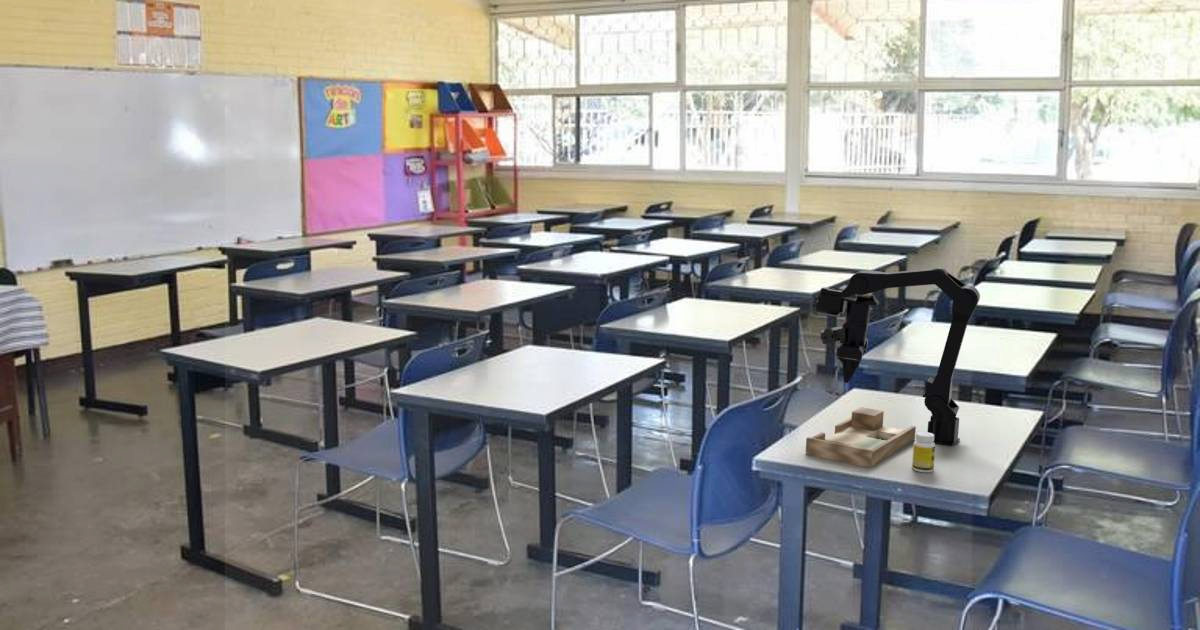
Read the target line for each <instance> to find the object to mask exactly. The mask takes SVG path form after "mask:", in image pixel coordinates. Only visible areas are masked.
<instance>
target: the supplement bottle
mask: <svg viewBox="0 0 1200 630" xmlns="http://www.w3.org/2000/svg"><path fill="white" fill-rule="evenodd" d="M933 441H934V434H932V433H929V432H927V431H918V432H917V431H916V432H915V440H914V441H913V449H912V463H911V468H912V470H914V472H915V471H916V472H920V473H932V472H933V471H934V470H935V469H934V468H935V453H936V443H934V442H933Z"/></svg>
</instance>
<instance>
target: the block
mask: <svg viewBox="0 0 1200 630" xmlns="http://www.w3.org/2000/svg"><path fill="white" fill-rule="evenodd" d="M884 412H885V411H884V410H880V409H879V410H878V409H874V408H868V407H859V408H857V409H855V410H853V411H851V417H852V420H851V427H854V428H859V429H864V430H870V431H875V430H877V429H879V428H880V427H882V426H884Z"/></svg>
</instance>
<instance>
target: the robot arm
mask: <svg viewBox="0 0 1200 630" xmlns="http://www.w3.org/2000/svg"><path fill="white" fill-rule="evenodd" d="M848 282H849V283H848V285H847V286H846V287H845V288H843V289H842V290H838V289H831V288H829V287H821V288H820V293H819V296H818V298H817V301H816V307H815V311H816V312H815V313H816V314H820V315H826V316H832V317H838V318H839V317H840V315H841V314H842V315H843V314H845V319H844V322H843V323H842V326H836V327H835V326H834V327H828V328H824V329H822V330H821V331H820V332H819V334H820V339H821V343H822V345H828V344H829V343H833V342H834V343H835V342H839V344H840V345H839V346H838V347H836V348H837V349H836V353H835V354H836V357H837V358H836V359H837V360H839V361H840V362H841V364H842V373H843V374H842V375H843V383H845V384H849V383H850V380H851V379H852V378H853V376H854V374H855V372H856V371H857V369H858V367H859V366H860V364H861V362H862V360H863V357H864V355H865V354H866V351H867V349H868V345H869V344H868V343H869V339H868V337H867V332H868V328H869V320H870V313H871V306H875V307H877V306H878V305H879V304H880V301H879V300H878V298H876V296H875V294H872V293H876V292H879V291H882V290H887V289H893V288H894V289H895V288H906V287H916V286H917V287H918V286H928V285H929V286H931V285H932V286H933V285H935V286H936V287H938V288H939V289H940V291H942V292H943V293H944V295H946V296H947V297H948V298H949V299H950V300H952V304H951V305H952V308H951V323H950V326H949V329H948V333H947V338H946V341H945V344H944V347H943V351H942V355H941V359H940V363H939V366H938V369H937V374H936V375H935V377H934V378H933V377H931V376H929V378H928V380H927V381H926V387H925V391H924V393H923V394H922V398H924V402H923V403H924V406H925V407H926V409H927V410H928V411H930V414H931V416H930V417H929V418H930V419H929V421H927V431H926V432H929V433H932V434H934V441H933V442H934V443H935V444H941V445H946V446H951V447H952V446H954V445H955V444H957V443H958V442H959V441H960V440H961V438H959V428H960V417H957V415H958V412H959V410H960V406H959V405H958V404H957V402H955V401H954V400H953V398H952V393H953V391H952V390H953V376H954V372H955V369H956V365H957V361H958V358H959V356H960V352H961V348H962V345H963V341H964V336H965V333H966V329H967V326H968V324H969V322H970V320H971V318H972V316H973V314H974V312H975V310H976V308H977V306H978V305H979V302H980V301H981V300H980V299H981V294H980V292H979V290H978V289H977V288H976V287H975V286H973V285H969V284H965V283H964V282H963V281H962V280H960V279H958V278H957V277H955V276H954V275H953V274H951V273H950V272H948V271H947V269H945V268H943V267H940V266H938V267H935V268H929V269H928V268H927V269H915V270H914V269H913V270H905V271H894V272H893V271H892V272H886V271H877V270H867V269H865V270H863V269H862V270H860V271H857V272H856V273H853V275H852V276H851V277H850V279H849V281H848ZM869 294H872V295H871V296H864V295H869ZM854 295H857V297H856V298H853V297H852V296H854ZM845 311H846V312H845Z"/></svg>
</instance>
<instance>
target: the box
mask: <svg viewBox="0 0 1200 630" xmlns="http://www.w3.org/2000/svg"><path fill="white" fill-rule="evenodd" d="M851 420H852V416H851V417H850V418H848V419H845V420H844V421H841V422H840V423H838V424H836V425H835V426H834V434H832V435H830V436H828V437H826V432H820V433H818V434H816V435H814V436H812V437H811V436H807V437H806V438H805V441H806V442H805V455H808V456H813V457H817V458H821V457H822V458H823V459H826V458H827V460H831V461H837V462H840V463H841V462H842V463H846V464H850V463H851V465H856V466H860V467H864V466H865V468H869V467H870V468H872V467H873V466H875V465H876V464H878V463H879V461H880V462H881V461H883V460H884V458H885V459H886V458H887V456H888V457H889V456H891V455H893V454H894V453H896V452H897V451H900V450H901V449H902V448H904V447H906V446H907V445H909V444H910V442H911V443H912V442H915V441H916V425H911V426H909V427H907V428H906V429H900V428H894V427H889V426H884V425H883V426H882V427H880V428H879V429H877V430H875V431H870V430H864V429H859V428H854V427H851ZM877 438H879V439H877ZM882 439H883V440H882ZM892 453H893V454H892ZM882 459H883V460H882ZM874 464H875V465H874ZM871 466H872V467H871Z"/></svg>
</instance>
